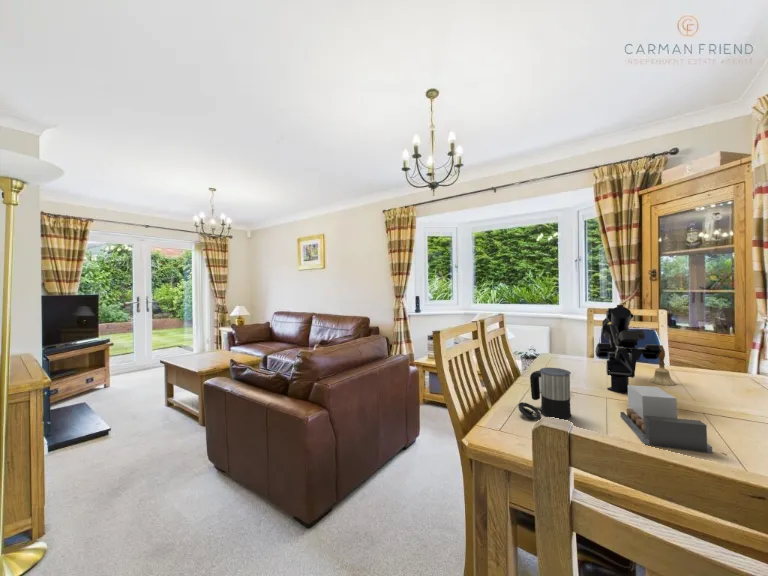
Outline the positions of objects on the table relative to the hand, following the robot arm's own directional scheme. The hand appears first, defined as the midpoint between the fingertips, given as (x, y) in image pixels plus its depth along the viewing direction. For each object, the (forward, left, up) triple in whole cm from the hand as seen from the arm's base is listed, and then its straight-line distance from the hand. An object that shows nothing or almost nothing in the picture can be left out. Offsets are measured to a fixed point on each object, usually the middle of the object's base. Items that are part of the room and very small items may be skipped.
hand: (633, 371), depth 110 cm
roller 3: (+15, +13, -12) cm, 23 cm away
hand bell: (-40, -8, -13) cm, 43 cm away
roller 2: (+12, +10, -12) cm, 20 cm away
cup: (+9, -25, -13) cm, 29 cm away
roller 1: (+9, +8, -12) cm, 17 cm away
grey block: (+10, +9, -10) cm, 17 cm away
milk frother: (+31, -12, -13) cm, 36 cm away
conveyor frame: (+15, +13, -13) cm, 23 cm away
